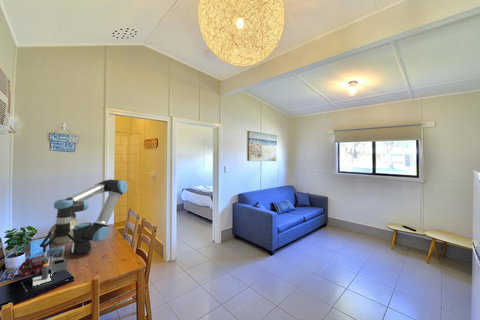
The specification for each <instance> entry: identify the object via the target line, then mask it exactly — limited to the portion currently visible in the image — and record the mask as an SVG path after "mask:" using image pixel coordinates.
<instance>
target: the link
mask: <svg viewBox="0 0 480 320" xmlns="http://www.w3.org/2000/svg"><path fill="white" fill-rule="evenodd" d="M67 266H68V262H67V258H62V259H61V258H60V259H57V260H52V261H50V265H49V272H50V271H51V273H54V272H58V271H61V270H66V271H67ZM51 273H50V274H51Z"/></svg>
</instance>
